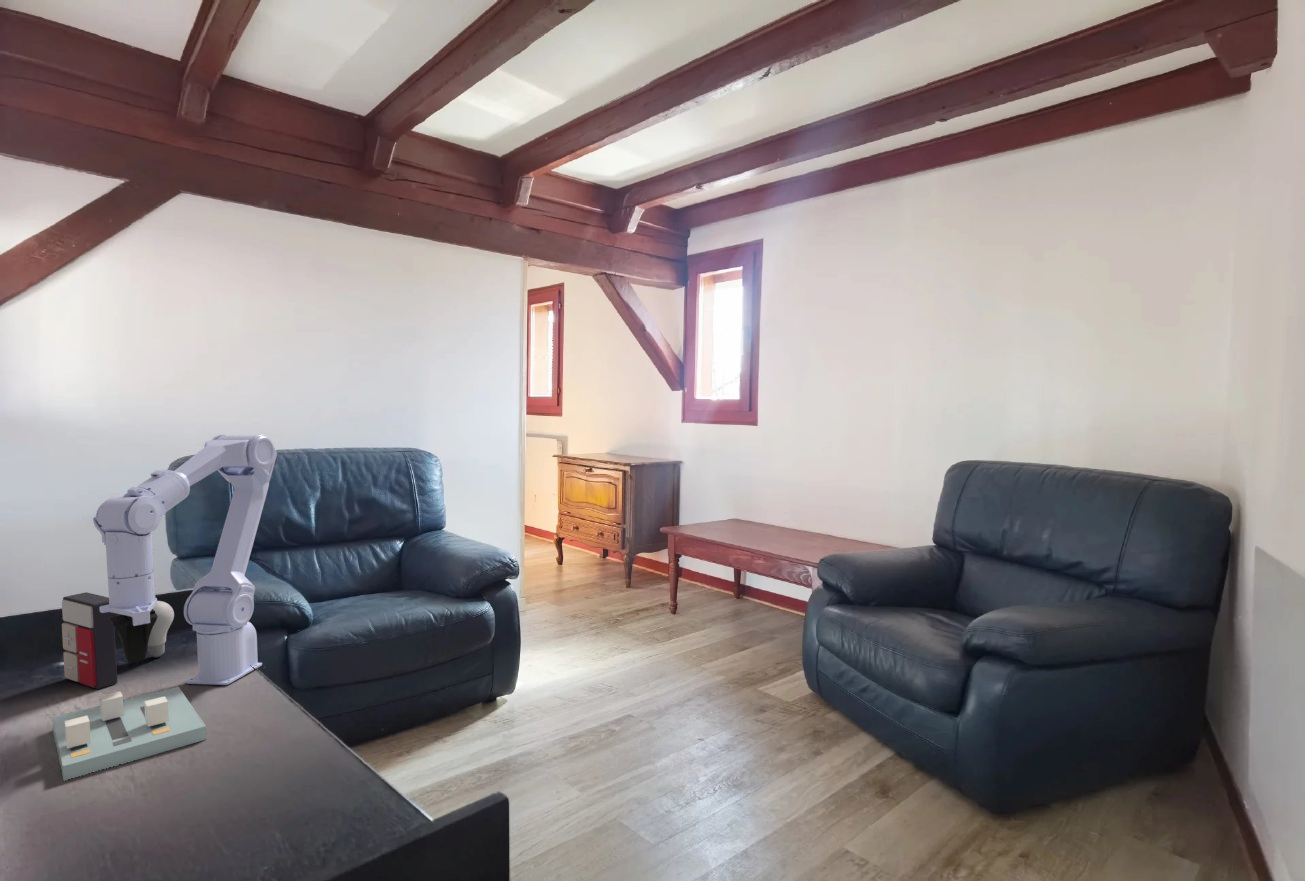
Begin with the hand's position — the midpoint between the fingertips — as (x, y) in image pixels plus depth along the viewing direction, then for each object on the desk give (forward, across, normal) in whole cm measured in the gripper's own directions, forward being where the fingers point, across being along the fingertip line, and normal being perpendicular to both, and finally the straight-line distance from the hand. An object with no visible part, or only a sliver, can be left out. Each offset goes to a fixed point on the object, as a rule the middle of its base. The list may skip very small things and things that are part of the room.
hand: (135, 660), depth 108 cm
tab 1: (+7, +9, -8) cm, 14 cm away
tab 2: (+7, +2, -4) cm, 8 cm away
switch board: (+9, +6, -2) cm, 11 cm away
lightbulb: (+10, -30, +7) cm, 33 cm away
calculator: (+10, -24, -3) cm, 26 cm away
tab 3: (+7, +10, +1) cm, 12 cm away
